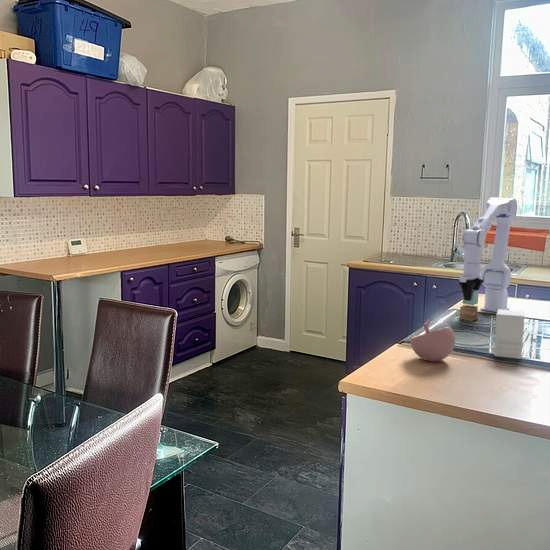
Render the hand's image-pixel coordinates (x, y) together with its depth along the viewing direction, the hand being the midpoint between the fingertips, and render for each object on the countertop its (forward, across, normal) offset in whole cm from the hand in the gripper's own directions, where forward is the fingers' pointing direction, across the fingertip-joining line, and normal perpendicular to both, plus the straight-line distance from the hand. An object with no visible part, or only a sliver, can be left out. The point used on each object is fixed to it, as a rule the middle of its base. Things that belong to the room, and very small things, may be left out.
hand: (470, 299), depth 206 cm
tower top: (+5, 0, 0) cm, 5 cm away
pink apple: (+8, -55, -15) cm, 58 cm away
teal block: (+2, 0, 0) cm, 2 cm away
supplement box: (+8, -34, -28) cm, 45 cm away
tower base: (+8, 0, 0) cm, 8 cm away
